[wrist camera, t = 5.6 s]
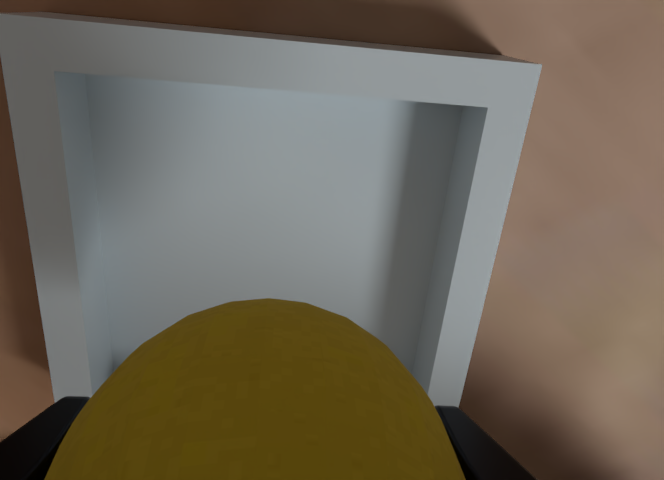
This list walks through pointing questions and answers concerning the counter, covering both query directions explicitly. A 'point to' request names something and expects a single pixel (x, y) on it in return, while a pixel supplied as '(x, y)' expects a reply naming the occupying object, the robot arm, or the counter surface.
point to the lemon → (259, 405)
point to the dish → (258, 183)
